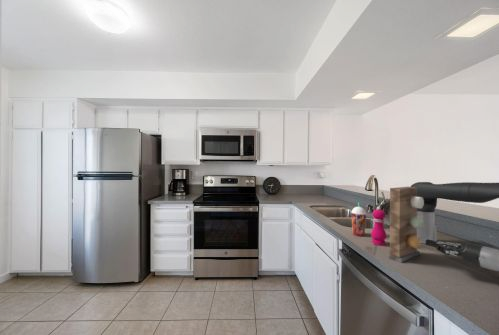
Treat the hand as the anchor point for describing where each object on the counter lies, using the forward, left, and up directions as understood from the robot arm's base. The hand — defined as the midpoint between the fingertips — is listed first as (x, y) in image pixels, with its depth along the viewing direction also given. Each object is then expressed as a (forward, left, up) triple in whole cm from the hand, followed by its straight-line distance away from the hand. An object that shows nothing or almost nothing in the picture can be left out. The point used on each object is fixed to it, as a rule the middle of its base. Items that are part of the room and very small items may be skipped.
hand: (426, 241), depth 92 cm
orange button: (+3, -4, -4) cm, 6 cm away
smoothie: (+16, -36, -10) cm, 41 cm away
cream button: (+2, -3, +14) cm, 14 cm away
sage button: (+2, -3, +5) cm, 6 cm away
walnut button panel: (+5, -6, -9) cm, 13 cm away
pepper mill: (+10, -22, -10) cm, 26 cm away
